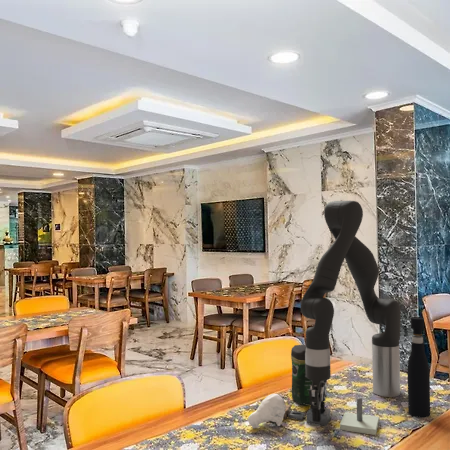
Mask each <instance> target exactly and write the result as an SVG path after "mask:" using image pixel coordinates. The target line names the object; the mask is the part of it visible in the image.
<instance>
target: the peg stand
mask: <svg viewBox="0 0 450 450" xmlns="http://www.w3.org/2000/svg"><path fill="white" fill-rule="evenodd" d="M379 424H380V416H376V415H370V414H363V398H362V397H356V413H354V412H348V411H345V412H344V414H343V416H342V419H341V421H340V423H339V430H342V431H347V432H353V433H358V434H359V433H360V434H366V435H373V436H376V435H377V431H378V429H379V428H378V427H379Z"/></svg>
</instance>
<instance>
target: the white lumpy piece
mask: <svg viewBox="0 0 450 450" xmlns="http://www.w3.org/2000/svg"><path fill="white" fill-rule="evenodd" d="M285 405H286V404H285V400H284V399H283V398H282V396H281V395H279V394H278V393H271V394H269V395H266V396H265V398H263V400H261V402H260V404H259V406H258V407H257V409H256V411H253V412H252V413H251V414H250V415H249V416H248V419H247V420H248V424H249V425H250V426H251V427H252V429H259V430H260V429H261V428H260V427H262V426H261V424H262V423H265V422H266V423H269V422H272V423H276V425H277V427H280V426H281V425H282V422H283V420H284V419H283V417H284V414H285V409H286V407H285Z"/></svg>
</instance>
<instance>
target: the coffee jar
mask: <svg viewBox="0 0 450 450" xmlns="http://www.w3.org/2000/svg"><path fill="white" fill-rule="evenodd" d="M305 352H306V344H295V345H294V346H292V348H291V351H290V359H291V398H292V399H293V401H295V402H296V403H297V404H298V405H307V406H310V399H309V389H310V387H311V384H312V380H310V379H308V378H307V377H306V369H305ZM314 405H316V402H314Z"/></svg>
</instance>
